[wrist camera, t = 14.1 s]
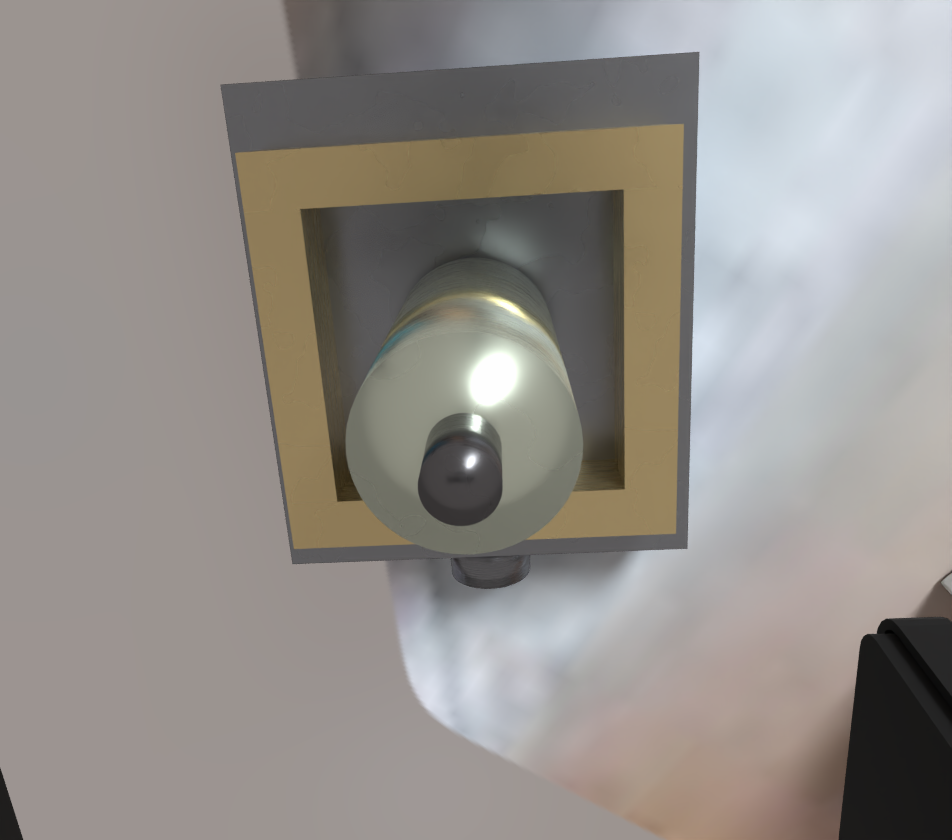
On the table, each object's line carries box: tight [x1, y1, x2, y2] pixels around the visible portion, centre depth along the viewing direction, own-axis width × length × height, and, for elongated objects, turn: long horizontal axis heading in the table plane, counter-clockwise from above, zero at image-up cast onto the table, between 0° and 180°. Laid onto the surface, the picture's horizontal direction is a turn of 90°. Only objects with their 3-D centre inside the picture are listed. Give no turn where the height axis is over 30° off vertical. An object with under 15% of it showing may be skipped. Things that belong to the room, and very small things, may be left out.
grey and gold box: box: [221, 52, 699, 589], centre depth 28 cm, size 18×14×6 cm
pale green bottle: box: [345, 258, 583, 555], centre depth 21 cm, size 5×5×12 cm
